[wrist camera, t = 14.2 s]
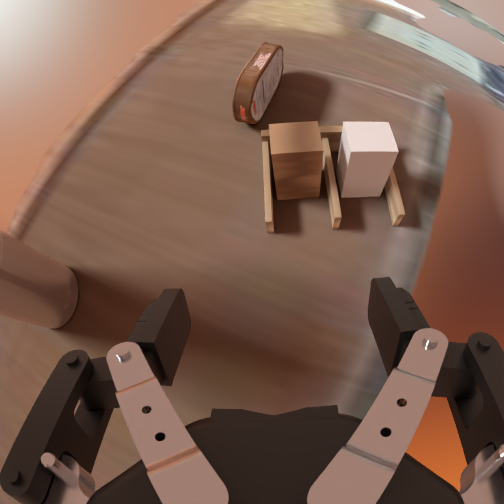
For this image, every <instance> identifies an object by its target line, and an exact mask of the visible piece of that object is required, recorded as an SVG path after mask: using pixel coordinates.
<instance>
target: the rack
mask: <svg viewBox="0 0 504 504" xmlns="http://www.w3.org/2000/svg"><path fill="white" fill-rule="evenodd" d="M342 128H343V126H322V127H319V130H320V135H321V140H322V145H323V150H324V152H323V168H324V174H325V181H326V187H327V194H328V201H329V208H330V215H331V223H332V229H338V228H339V225H340V221H341V210H340V204H339V197H338V191H337V185H336V179H335V174H334V168H333V163H332V158H331V152H339V148H340V142H341V135H342ZM261 138H262V149H263V172H264V196H265V222H266V226H267V231H268V233H274V218H273V199H272V180H271V163H270V156H271V146H270V133H269V130H261ZM384 190H385V194H386V199H387V203H388V207H389V212H390V217H391V222H392V226H398V225H399V223H400V222H401V220H402V218H403V217H404V215H405V212H404V207H403V203H402V199H401V195H400V191H399V187H398V184H397V180H396V176H395V173H394V169H393V167H392V169H391V172H390V174H389V177H388V179H387V181H386V184H385V186H384Z"/></svg>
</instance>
